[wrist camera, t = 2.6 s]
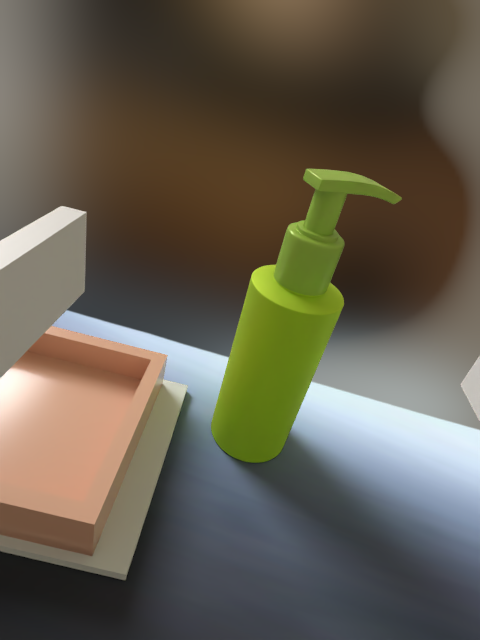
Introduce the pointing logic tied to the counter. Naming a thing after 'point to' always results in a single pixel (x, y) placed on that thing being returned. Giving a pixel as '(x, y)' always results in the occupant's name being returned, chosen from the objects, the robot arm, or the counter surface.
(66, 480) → the dish
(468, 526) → the counter surface
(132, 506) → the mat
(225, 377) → the soap dispenser
